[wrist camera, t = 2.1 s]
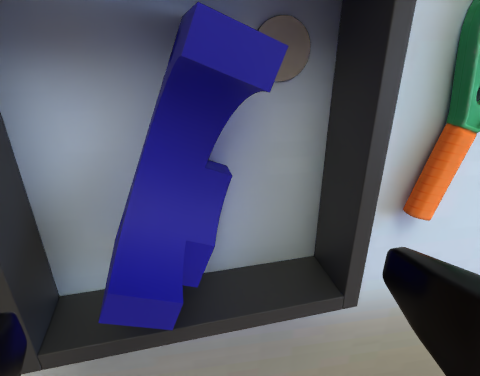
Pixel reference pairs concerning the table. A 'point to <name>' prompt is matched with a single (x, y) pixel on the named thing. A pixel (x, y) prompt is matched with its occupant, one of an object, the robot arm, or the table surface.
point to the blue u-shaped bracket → (184, 167)
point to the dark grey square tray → (252, 277)
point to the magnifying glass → (453, 124)
